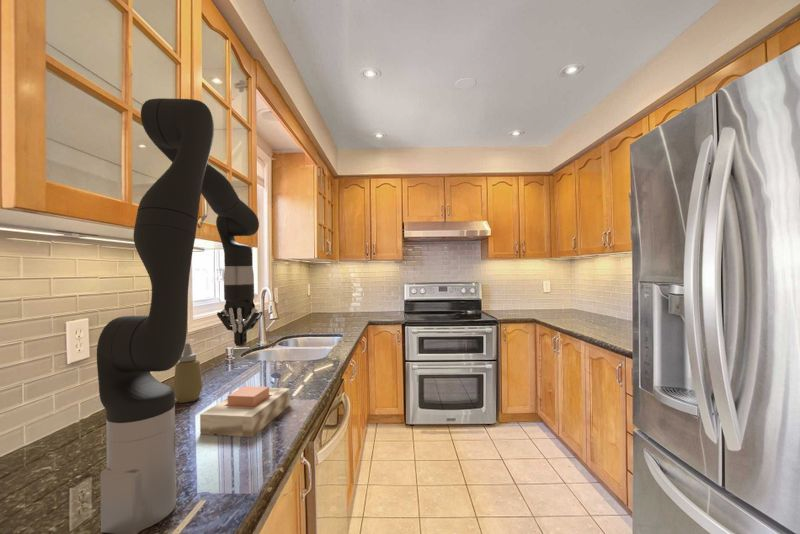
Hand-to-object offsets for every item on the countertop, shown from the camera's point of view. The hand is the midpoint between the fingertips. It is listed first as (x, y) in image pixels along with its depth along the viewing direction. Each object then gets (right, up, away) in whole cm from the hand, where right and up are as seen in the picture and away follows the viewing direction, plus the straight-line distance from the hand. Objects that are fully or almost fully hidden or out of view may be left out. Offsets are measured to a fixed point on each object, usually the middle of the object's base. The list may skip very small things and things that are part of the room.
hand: (240, 345), depth 95 cm
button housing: (+2, -20, 0) cm, 20 cm away
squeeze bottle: (-24, -21, +15) cm, 35 cm away
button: (+2, -17, 0) cm, 17 cm away
